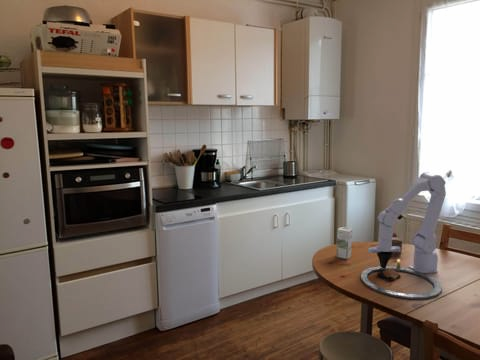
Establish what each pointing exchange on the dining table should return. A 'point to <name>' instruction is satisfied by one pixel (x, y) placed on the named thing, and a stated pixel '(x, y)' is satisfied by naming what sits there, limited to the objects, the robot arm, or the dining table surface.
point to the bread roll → (388, 275)
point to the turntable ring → (433, 293)
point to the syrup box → (344, 243)
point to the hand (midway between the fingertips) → (383, 267)
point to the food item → (396, 242)
